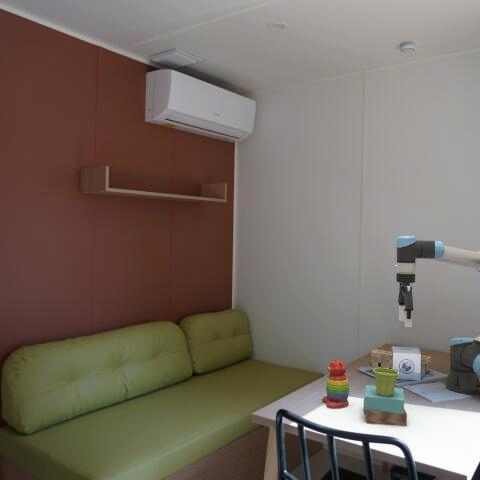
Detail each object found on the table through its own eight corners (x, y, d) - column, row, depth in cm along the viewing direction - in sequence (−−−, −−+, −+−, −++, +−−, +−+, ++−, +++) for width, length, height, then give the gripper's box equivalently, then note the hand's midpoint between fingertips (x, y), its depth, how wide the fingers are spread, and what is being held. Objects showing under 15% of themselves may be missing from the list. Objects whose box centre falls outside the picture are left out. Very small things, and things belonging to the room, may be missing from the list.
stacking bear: (321, 399, 208) (321, 357, 208) (344, 399, 209) (345, 357, 208) (327, 408, 197) (328, 364, 197) (352, 408, 198) (353, 364, 198)
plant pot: (398, 391, 190) (399, 369, 190) (398, 399, 181) (399, 375, 181) (373, 388, 193) (373, 366, 193) (371, 395, 184) (372, 372, 184)
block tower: (369, 367, 261) (427, 375, 245) (369, 351, 261) (427, 358, 245) (374, 364, 267) (431, 371, 251) (374, 348, 267) (430, 355, 251)
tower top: (402, 401, 194) (402, 388, 194) (403, 413, 180) (404, 400, 180) (365, 397, 198) (366, 385, 198) (364, 409, 184) (364, 396, 184)
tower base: (400, 413, 195) (400, 400, 194) (406, 427, 181) (406, 413, 181) (363, 411, 197) (363, 398, 197) (367, 424, 183) (367, 411, 183)
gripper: (391, 270, 218) (391, 318, 219) (401, 275, 194) (401, 329, 194) (409, 270, 217) (408, 318, 218) (421, 275, 193) (421, 330, 193)
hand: (405, 323), depth 206 cm, fingers open, 13 cm apart
